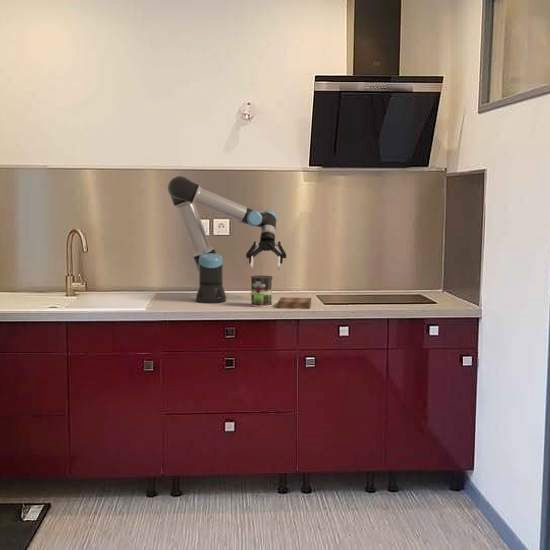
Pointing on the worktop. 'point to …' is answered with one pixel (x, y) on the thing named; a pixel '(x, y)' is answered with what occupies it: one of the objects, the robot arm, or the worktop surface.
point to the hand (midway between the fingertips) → (265, 268)
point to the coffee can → (261, 291)
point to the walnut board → (294, 303)
